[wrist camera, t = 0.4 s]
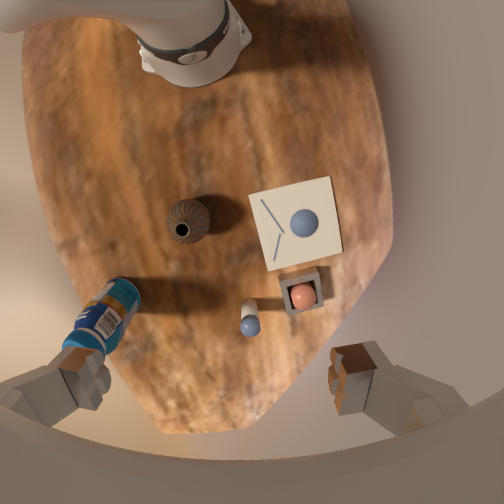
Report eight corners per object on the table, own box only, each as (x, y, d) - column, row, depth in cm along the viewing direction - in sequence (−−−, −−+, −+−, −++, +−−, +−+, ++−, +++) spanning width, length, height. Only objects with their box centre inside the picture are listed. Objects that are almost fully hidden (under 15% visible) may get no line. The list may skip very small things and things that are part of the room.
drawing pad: (248, 194, 45) (248, 195, 45) (329, 175, 44) (329, 176, 44) (267, 270, 50) (268, 271, 50) (341, 251, 49) (342, 252, 49)
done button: (287, 283, 50) (290, 292, 46) (310, 277, 49) (314, 286, 46) (292, 302, 51) (295, 312, 48) (313, 297, 51) (318, 306, 48)
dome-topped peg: (238, 299, 52) (238, 323, 44) (255, 295, 52) (257, 319, 44) (243, 313, 53) (243, 338, 45) (259, 309, 53) (262, 334, 45)
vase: (203, 189, 45) (194, 198, 36) (218, 227, 47) (213, 243, 39) (166, 205, 45) (150, 216, 37) (182, 241, 48) (170, 259, 39)
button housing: (277, 275, 50) (279, 283, 48) (314, 266, 50) (318, 273, 47) (285, 307, 53) (287, 315, 50) (320, 298, 52) (324, 306, 50)
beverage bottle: (144, 315, 53) (110, 384, 34) (108, 310, 52) (66, 372, 33) (139, 277, 50) (96, 341, 31) (102, 274, 49) (49, 330, 30)
